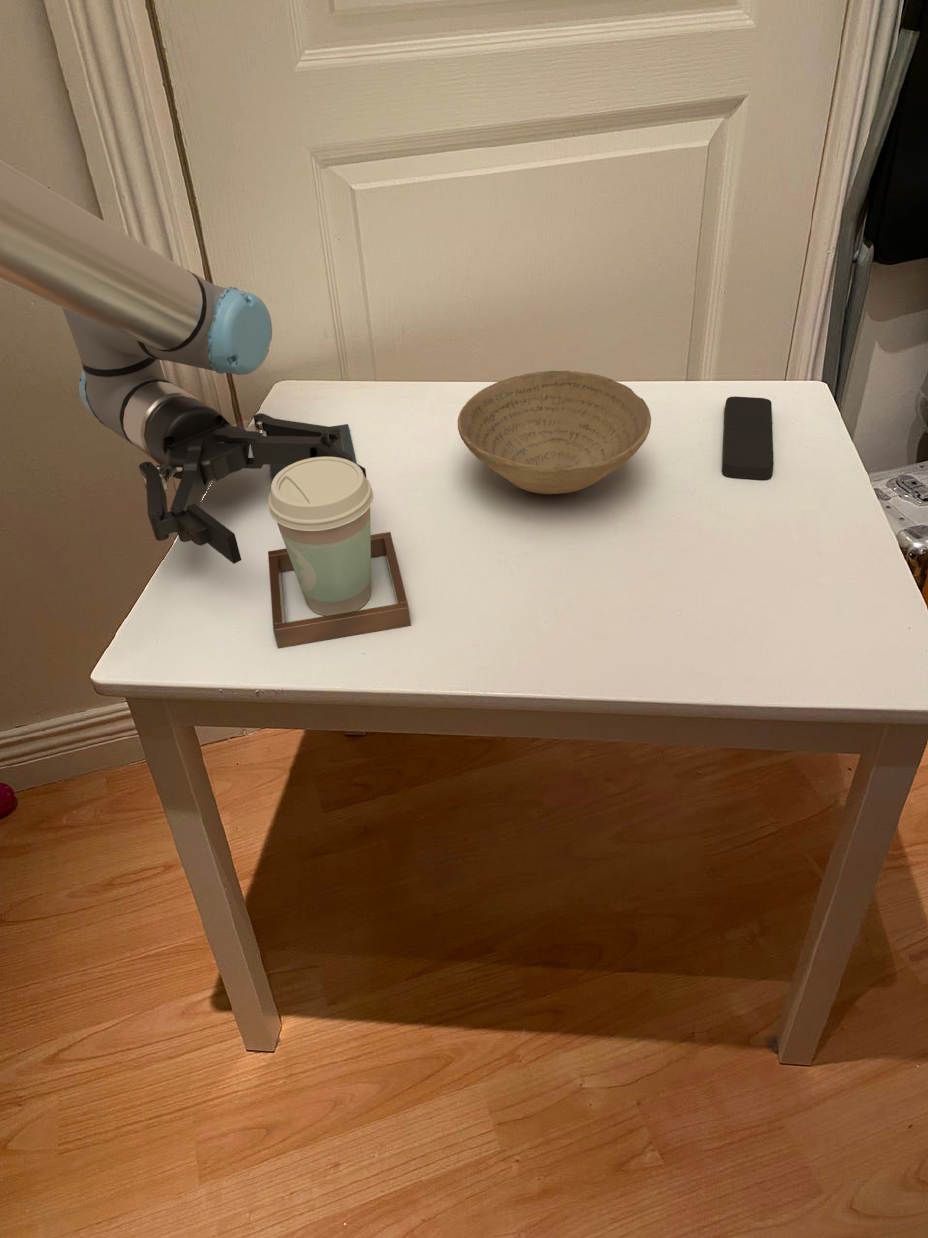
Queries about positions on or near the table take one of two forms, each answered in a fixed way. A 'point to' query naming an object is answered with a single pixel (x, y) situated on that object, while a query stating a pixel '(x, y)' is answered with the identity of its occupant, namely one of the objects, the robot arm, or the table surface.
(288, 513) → the coffee cup
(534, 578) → the table surface
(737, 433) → the remote control
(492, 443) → the bowl
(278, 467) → the felt mat
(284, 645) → the wooden square frame
